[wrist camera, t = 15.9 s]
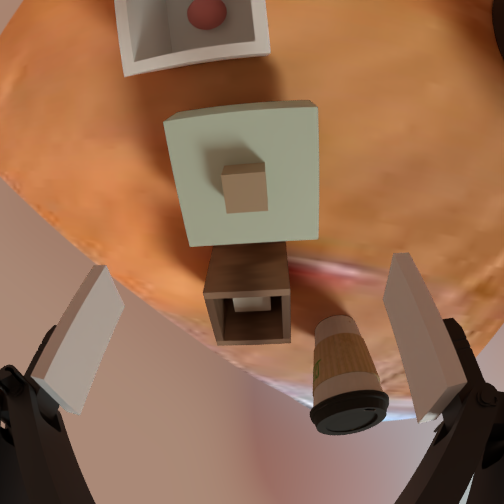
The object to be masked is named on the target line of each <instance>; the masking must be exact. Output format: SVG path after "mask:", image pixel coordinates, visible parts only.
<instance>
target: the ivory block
mask: <svg viewBox="0 0 504 504" xmlns="http://www.w3.org/2000/svg"><path fill="white" fill-rule="evenodd" d="M233 304H234V309H235V312H246V311H268V310H271V296H268V297H247V298H233Z"/></svg>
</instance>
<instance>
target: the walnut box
mask: <svg viewBox="0 0 504 504" xmlns="http://www.w3.org/2000/svg"><path fill="white" fill-rule="evenodd" d="M203 295H204V299H205V303H206V306H207V310H208V314H209V317H210V321H211V324H212V328H213V331H214V335H215V338H216V342H217V345H261V344H282V343H291V309H290V282H289V271H288V261H287V251H286V242H285V241H277V242H260V243H244V244H228V245H214V246H213V250H212V254H211V259H210V263H209V268H208V272H207V277H206V281H205V286H204V290H203ZM268 296H271V310H268V311H246V312H235V309H234V304H233V298H247V297H268Z"/></svg>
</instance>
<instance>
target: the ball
mask: <svg viewBox="0 0 504 504" xmlns="http://www.w3.org/2000/svg"><path fill="white" fill-rule="evenodd" d="M226 15H227V9H226V6H225V4H224V3H223V1H221V0H194V1H193V2H192V3H191V4H190V6H189V7H188V10H187V17H188V20H189V22H190V23H191V24H192V25H193V26H194V27H196V28H198V29H202V30H210V29H214V28H216V27H218V26H219V25H221V24H222V23H223V21H224V20H225V18H226Z"/></svg>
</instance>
